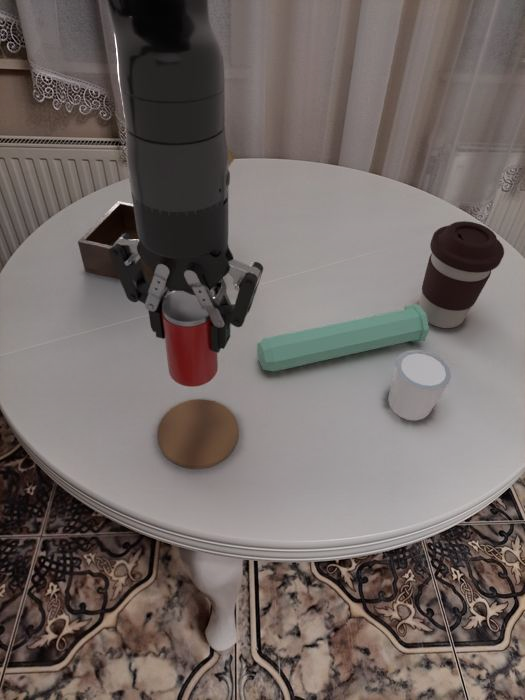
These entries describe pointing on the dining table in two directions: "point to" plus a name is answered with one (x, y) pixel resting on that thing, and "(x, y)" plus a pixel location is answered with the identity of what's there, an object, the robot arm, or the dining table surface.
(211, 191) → the robot arm
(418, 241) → the dining table surface
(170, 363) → the can
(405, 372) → the white short cylinder
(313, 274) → the dining table surface
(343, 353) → the container
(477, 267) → the coffee cup
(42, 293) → the dining table surface
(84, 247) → the chest
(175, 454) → the coaster
